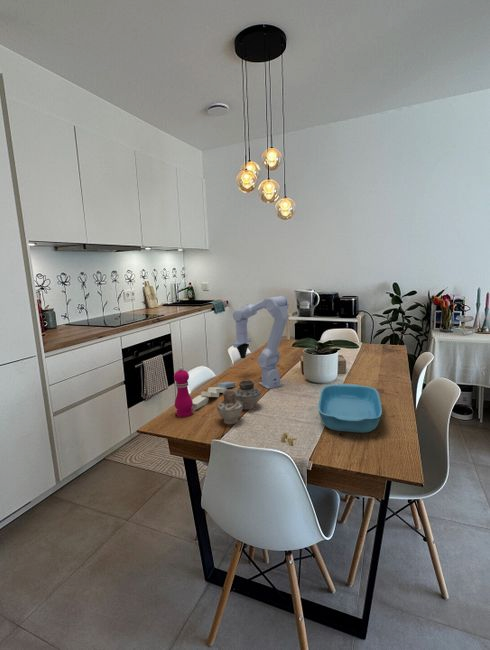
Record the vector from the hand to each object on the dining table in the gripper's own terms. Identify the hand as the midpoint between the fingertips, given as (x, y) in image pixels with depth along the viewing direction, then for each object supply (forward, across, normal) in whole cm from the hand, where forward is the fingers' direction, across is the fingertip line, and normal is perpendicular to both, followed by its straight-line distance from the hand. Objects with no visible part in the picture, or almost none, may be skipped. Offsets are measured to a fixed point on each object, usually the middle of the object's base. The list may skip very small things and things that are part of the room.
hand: (243, 357), depth 183 cm
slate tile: (+10, +14, +1) cm, 17 cm away
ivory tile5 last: (+10, +36, +1) cm, 38 cm away
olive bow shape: (+11, +51, +47) cm, 70 cm away
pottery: (+11, +39, +21) cm, 46 cm away
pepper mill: (+11, +49, +1) cm, 51 cm away
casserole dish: (+11, +24, +61) cm, 66 cm away
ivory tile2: (+10, +22, +1) cm, 24 cm away
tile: (+10, +29, +1) cm, 30 cm away
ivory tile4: (+8, +36, +1) cm, 37 cm away
